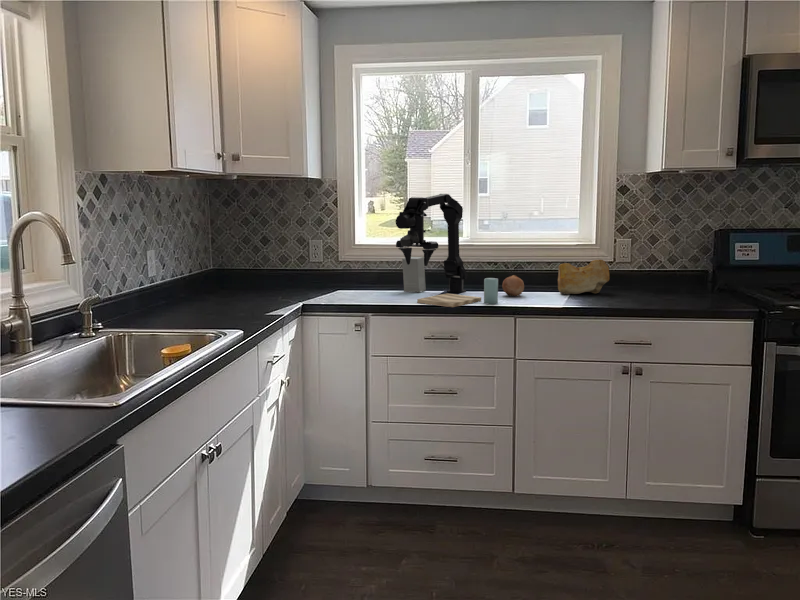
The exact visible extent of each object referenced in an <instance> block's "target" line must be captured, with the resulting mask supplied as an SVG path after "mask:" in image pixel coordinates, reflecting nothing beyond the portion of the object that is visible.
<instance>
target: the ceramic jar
mask: <svg viewBox="0 0 800 600" xmlns="http://www.w3.org/2000/svg"><path fill="white" fill-rule="evenodd" d="M498 298H499V278H495V277H486V278H484V279H483V304H484V303H489V304H488V305H495V304H494V303H499V299H498Z"/></svg>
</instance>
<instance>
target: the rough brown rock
mask: <svg viewBox="0 0 800 600" xmlns="http://www.w3.org/2000/svg"><path fill="white" fill-rule="evenodd" d="M557 269H558V275H557V289H558V290H557V291H558V292H559V293H560V294H564V295H568V294H570V295H571V294H572V295H578V294H582V293H592V294H599V293H600V291H602V287H603V286H604V285H605V284H606V283H608V282H609V281H610V278H611V277H610V268H609V265H608V264H607V263H606V261H605V260H604V259H593V260H591V261H590V263H588V264H587V265H585V266H581V267H580V266H579V267H576V266H575V265H572V264H571V263H569V262H568V263H567V262H566V263H565V262H564V263H561V264H559V265H558V267H557Z"/></svg>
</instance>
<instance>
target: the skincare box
mask: <svg viewBox="0 0 800 600" xmlns="http://www.w3.org/2000/svg"><path fill="white" fill-rule="evenodd" d="M401 262H402V274H403V275H402V278H403V292H404V293H405V292H406V293H423V292H426V290H427V289H426V286H427V285H426V273H425V272H426V271H425V269H426V268H425V266H424V256H411V260H410V264H409V265H408V264H407V262H406V259H405V257H403V258H401Z"/></svg>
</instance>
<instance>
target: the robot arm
mask: <svg viewBox="0 0 800 600" xmlns="http://www.w3.org/2000/svg"><path fill="white" fill-rule="evenodd" d="M438 205H439V209H440V211H442V214H443V219H444V221H445V222H446V224H447V254H448V255H447V258H446V259H445V260H443V270H444V275H445V278H446V279H449V286H448V287H449V290H446V292H447V293H453V294H459V293H465V292H467V290H466V289H464V280H467V279H468V275H469V274H468V272H467V270H466V268H465V267H464V261H463V260H462V258H461V256H460V222H461V221H462V218H463V212H464V208H463V206H462V204H460V203H459V201H458V200H456V199H454V198H453V197H452V196H451V194H449V193H439V194H435V195H431V196H427V197H422V196H421V197H420V196H417V197H413V196H412V197H410V198H408V201H407V202H406V204H405V206H404V208H403V210H402V211H399V213H398V215H397V217H396V218H395V225H396V227H397V229H400V230H403V229H406V230H407V229H409V230H407V234H406V235H405V234H404V236H402V237H400V240H399V239H398V240H397V241H396V243H395V247H396V248H398V250H399V251H401V252H402V253H403V256H404V258H405V259H406V262H407V264H408V265H409V264H410V260H411V257H412V252H413V251H412V250H413V248H412V247H415V248H416V247H417V248H422V253H423V257H424V267H427V266H428V263H429V262H430V260H431V257H432V255H433V254H434V252H435V251H437V249H439V243H438V242H437V241H433V240H432V241H426V239H425V238H424V237H425V233H426V232H427V231H426V230H425V227H424V226H425V225H424V221H425V217H428V215H427V213H425V211H426V210H428V209H429V208H431V207H432V206H438Z"/></svg>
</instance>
